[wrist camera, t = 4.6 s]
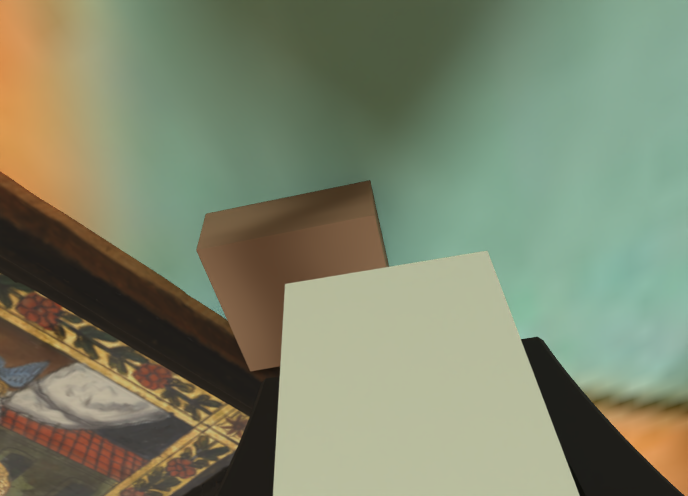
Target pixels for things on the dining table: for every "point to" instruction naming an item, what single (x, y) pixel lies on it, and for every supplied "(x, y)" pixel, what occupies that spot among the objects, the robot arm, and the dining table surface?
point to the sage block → (411, 388)
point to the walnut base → (285, 257)
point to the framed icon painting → (108, 368)
